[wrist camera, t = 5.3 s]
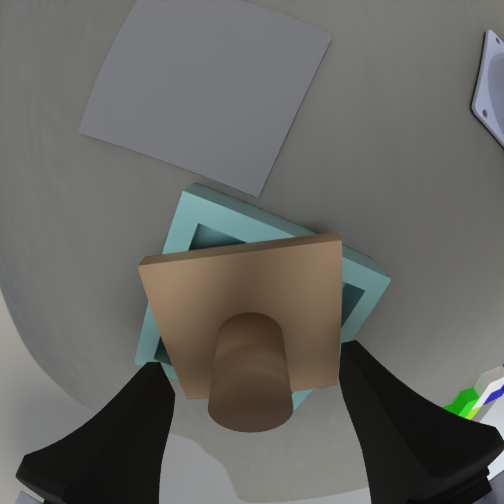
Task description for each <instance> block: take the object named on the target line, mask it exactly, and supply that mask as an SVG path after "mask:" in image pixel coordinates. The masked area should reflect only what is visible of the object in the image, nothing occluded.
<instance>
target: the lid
mask: <svg viewBox="0 0 504 504" xmlns="http://www.w3.org/2000/svg"><path fill="white" fill-rule="evenodd" d="M138 270H139V273H140V276H141V280H142V283H143V286H144V289H145V292H146V295H147V298H148V301H149V304H150V307H151V310H152V313H153V316H154V319H155V322H156V324H157V327H158V330H159V332H160V335H161V338H162V340H163V343H164V345H165V348H166V351H167V353H168V356H169V358H170V360H171V363H172V365H173V368H174V370H175V372H176V375H177V377H178V379H179V382H180V384H181V386H182V388H183V391H184V393H185V395H186V397H187V399H209V402H208V412H209V415H210V416H211V418H212V419H213V420H214V421H215V422H216V423H218V424H219V425H221V426H223V427H225V428H228V429H231V430H234V431H239V432H262V431H267V430H271V429H274V428H276V427H278V426H280V425H282V424H283V423H285V422H286V421H287V420H288V419H289V418H290V417H291V415H292V413H293V408H294V407H293V400H292V393H291V392H295V391H302V390H309V389H315V388H321V387H326V386H332V385H337V375H338V364H339V351H340V335H341V314H342V240H341V238H340V237H339V236H338V235H337V234H336V233H335V232H332V233H324V234H316V235H308V236H299V237H291V238H283V239H275V240H267V241H259V242H252V243H244V244H236V245H228V246H221V247H213V248H205V249H198V250H190V251H183V252H175V253H168V254H160V255H153V256H146V257H145V258H144V259H143V260H142V261H141V262H140V264H139V265H138Z"/></svg>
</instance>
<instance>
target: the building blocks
mask: <svg viewBox="0 0 504 504" xmlns="http://www.w3.org/2000/svg"><path fill="white" fill-rule="evenodd" d="M503 393H504V365H502V366H499V367H496V368H494V369H491V370H488V371H486V372H483V373H482V374H481V376H480V377H479V379H478V381H477V382H476V384H475V385H474V387H472V388H470V389H467V390H464V391H461V392H460V394H459V395H458V397H457V398H456V400H455V401H454V402H453V404H452V405H449V406H446V407H443V409H445V410H447V411H450V412H452V413H454V414H456V415H458V416H461V417H464V418H466V419H469V420H471V419H472V418H473V416H474V415H475V414H476V413H477V411H478V410H479V409H480V408H481V406H482V405H484V404H486V403H488V402H490V401H493V400H495V399H497V398H499V397H501V396H502V395H503Z"/></svg>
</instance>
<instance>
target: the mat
mask: <svg viewBox="0 0 504 504" xmlns="http://www.w3.org/2000/svg"><path fill="white" fill-rule="evenodd" d="M332 37H333V35H331V34H329V33H327V32H325V31H322V30H320V29H318V28H316V27H314V26H311V25H309V24H307V23H304V22H302V21H300V20H297V19H295V18H292V17H290V16H287V15H284V14H282V13H279V12H276V11H273V10H270V9H267V8H264V7H261V6H258V5H255V4H251V3H248V2H244V1H241V0H137V2H136V3H135V5H134V7H133V8H132V10H131V12H130V13H129V15H128V17H127V18H126V20H125V22H124V24H123V25H122V27H121V29H120V31H119V33H118V35H117V37H116V39H115V40H114V42H113V44H112V46H111V48H110V50H109V53H108V55H107V57H106V59H105V61H104V63H103V65H102V68H101V70H100V72H99V75H98V77H97V79H96V82H95V84H94V87H93V89H92V92H91V95H90V97H89V100H88V103H87V105H86V108H85V111H84V114H83V117H82V120H81V123H80V126H79V130H78V133H80V134H84V135H87V136H90V137H93V138H97V139H100V140H103V141H106V142H109V143H112V144H115V145H118V146H121V147H124V148H127V149H130V150H133V151H136V152H139V153H142V154H145V155H148V156H151V157H153V158H156V159H159V160H162V161H165V162H167V163H170V164H173V165H176V166H178V167H181V168H184V169H186V170H189V171H192V172H194V173H197V174H200V175H202V176H205V177H207V178H210V179H213V180H215V181H218V182H220V183H223V184H225V185H228V186H230V187H233V188H235V189H238V190H240V191H243V192H245V193H247V194H250V195H252V196H255V197H257V198H259V195H260V193H261V191H262V189H263V186H264V184H265V182H266V180H267V177H268V175H269V173H270V171H271V168H272V166H273V164H274V162H275V159H276V157H277V155H278V153H279V151H280V148H281V146H282V144H283V142H284V140H285V137H286V135H287V133H288V131H289V129H290V126H291V124H292V122H293V120H294V118H295V115H296V113H297V111H298V109H299V107H300V105H301V102H302V100H303V98H304V96H305V94H306V92H307V90H308V87H309V85H310V83H311V81H312V79H313V77H314V75H315V72H316V70H317V68H318V66H319V64H320V62H321V60H322V58H323V56H324V53H325V51H326V49H327V47H328V45H329V43H330V41H331V39H332Z"/></svg>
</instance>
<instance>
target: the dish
mask: <svg viewBox="0 0 504 504" xmlns="http://www.w3.org/2000/svg"><path fill="white" fill-rule="evenodd" d="M316 234H318V233H315V232H313V231H311V230H309V229H306V228H304V227H302V226H300V225H297V224H295V223H293V222H290V221H288V220H286V219H283V218H281V217H279V216H276V215H274V214H272V213H269V212H267V211H265V210H262V209H260V208H257V207H255V206H253V205H250V204H248V203H245V202H243V201H240V200H238V199H236V198H233V197H231V196H228V195H226V194H223V193H221V192H218V191H216V190H213V189H210V188H208V187H205V186H203V185H200V184H198V183H194V184H192V185H191V186H189V187H188V188H186V189H185V190H184V191H183V192H182V195H181V198H180V201H179V204H178V207H177V209H176V212H175V215H174V218H173V221H172V224H171V227H170V230H169V233H168V237H167V240H166V243H165V246H164V249H163V253H162V254H168V253H175V252H183V251H190V250H198V249H205V248H213V247H221V246H228V245H236V244H244V243H252V242H259V241H267V240H275V239H283V238H291V237H299V236H308V235H316ZM391 280H392V279H391V278H390V277H389V276H388V275H387V274H386V273H385V271H384V270H383V269H382V268H381V267H380V266H379V265H378V264H377V263H376V262H375V261H374V260H373V259H372V258H370V257H367V256H365V255H363V254H361V253H359V252H357V251H355V250H353V249H350V248H348V247H346V246H344V245H342V314H341V335H340V351H339V357H340V354H341V343H344V342H349V341H351V340H352V339H353V338H354V336H355V335H356V334H357V332H358V331H359V329H360V328H361V326H362V325H363V323H364V322H365V321H366V319H367V318H368V316H369V315H370V313H371V312H372V310H373V309H374V307H375V306H376V304H377V302H378V301H379V299H380V298H381V296H382V295H383V293H384V291H385V290H386V288H387V287H388V285H389V283H390V282H391ZM147 362H161V365H162V367H163V369H164V371H165V373H166V376H167V377H170V378H173V379H176V380H179V379H178V377H177V375H176V372H175V370H174V368H173V365H172V363H171V360H170V358H169V356H168V353H167V351H166V348H165V345H164V343H163V340H162V338H161V335H160V332H159V330H158V327H157V324H156V322H155V319H154V316H153V313H152V310H151V307H150V304H149V302H148V306H147V310H146V314H145V318H144V322H143V326H142V330H141V334H140V339H139V343H138V348H137V352H136V357H135V362H134V364H137V365H139V366H142V367H143V366H144V365H145V364H146V363H147ZM312 390H313V389H309V390H302V391H295V392H291V393H292V400H293V407H294V408H293V411H295V410H296V409H297V407H298V406H299V405H300V404H301V403H302V402H303V401H304V400H305V398H306V397H307V396H308V395H309V394H310V393H311V391H312Z"/></svg>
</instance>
